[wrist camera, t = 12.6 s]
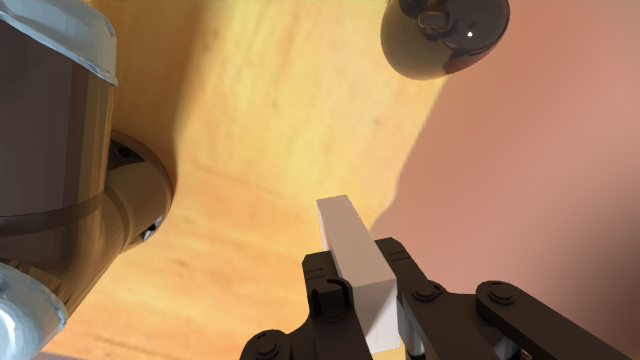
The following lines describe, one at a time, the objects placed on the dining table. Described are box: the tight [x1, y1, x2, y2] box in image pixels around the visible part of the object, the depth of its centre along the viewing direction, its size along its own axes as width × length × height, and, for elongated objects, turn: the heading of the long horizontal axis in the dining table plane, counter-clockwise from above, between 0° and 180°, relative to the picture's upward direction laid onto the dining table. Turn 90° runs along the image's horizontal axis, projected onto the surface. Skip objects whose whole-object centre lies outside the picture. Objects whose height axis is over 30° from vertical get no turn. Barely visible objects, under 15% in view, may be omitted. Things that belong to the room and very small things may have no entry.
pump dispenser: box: [381, 0, 510, 81], centre depth 32 cm, size 10×10×15 cm
